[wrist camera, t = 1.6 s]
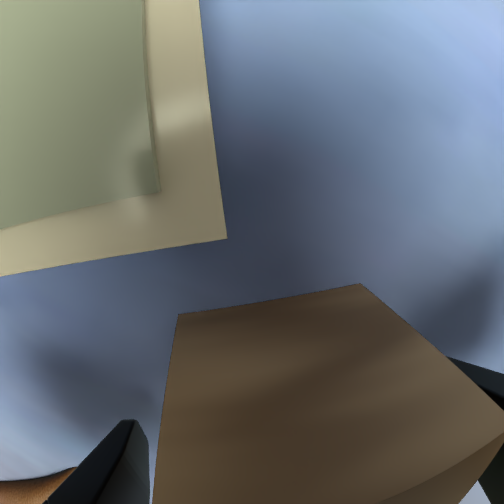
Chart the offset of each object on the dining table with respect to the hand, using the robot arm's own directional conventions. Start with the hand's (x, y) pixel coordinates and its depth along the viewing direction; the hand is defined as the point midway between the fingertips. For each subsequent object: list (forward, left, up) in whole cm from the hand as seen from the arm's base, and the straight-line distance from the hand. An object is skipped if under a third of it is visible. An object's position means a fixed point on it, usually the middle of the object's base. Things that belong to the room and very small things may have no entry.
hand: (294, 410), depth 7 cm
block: (0, 0, -2) cm, 2 cm away
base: (+7, -12, -2) cm, 14 cm away
